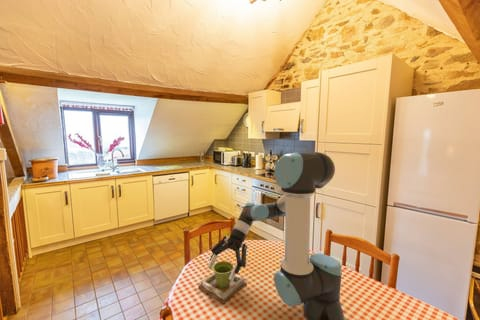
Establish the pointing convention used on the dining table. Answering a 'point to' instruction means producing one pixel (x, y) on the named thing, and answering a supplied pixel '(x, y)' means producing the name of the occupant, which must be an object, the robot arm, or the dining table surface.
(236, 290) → the stand
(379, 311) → the dining table surface
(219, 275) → the plant pot
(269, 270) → the dining table surface
